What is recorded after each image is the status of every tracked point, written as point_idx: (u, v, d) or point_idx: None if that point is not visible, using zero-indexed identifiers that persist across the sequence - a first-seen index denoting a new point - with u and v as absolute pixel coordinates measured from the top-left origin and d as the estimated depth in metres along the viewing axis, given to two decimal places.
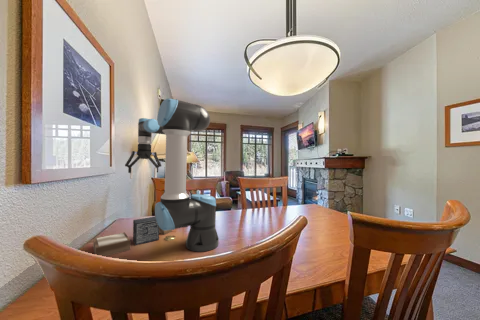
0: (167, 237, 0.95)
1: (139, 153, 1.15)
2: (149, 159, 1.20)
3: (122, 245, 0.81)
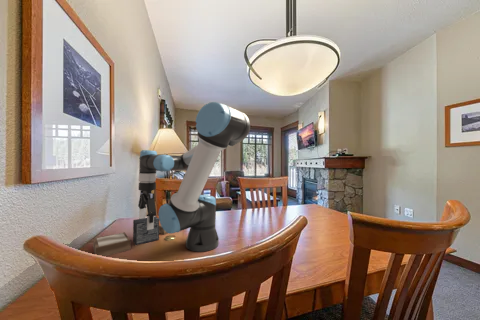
0: (167, 237, 0.95)
1: (142, 193, 0.94)
2: None
3: (122, 245, 0.81)
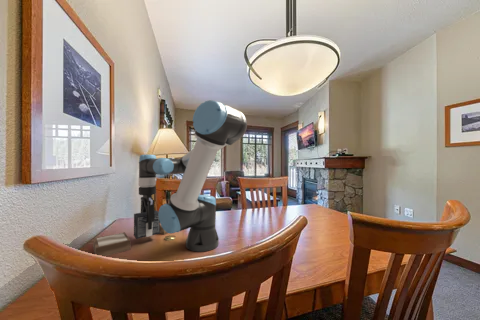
0: (167, 237, 0.95)
1: (143, 198, 0.94)
2: None
3: (122, 245, 0.81)
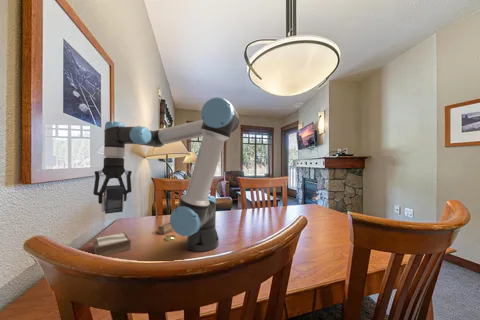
0: (168, 237, 0.94)
1: (106, 171, 0.81)
2: (118, 179, 0.85)
3: (122, 245, 0.81)
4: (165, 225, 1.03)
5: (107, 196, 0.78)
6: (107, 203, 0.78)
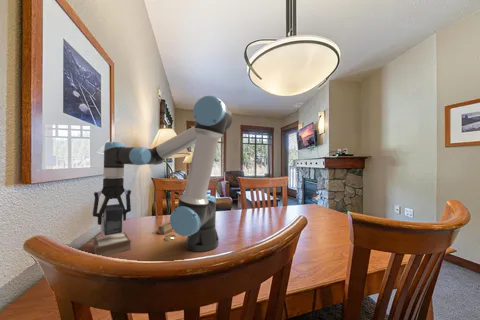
0: (169, 238, 0.94)
1: (105, 192, 0.81)
2: (117, 199, 0.85)
3: (122, 245, 0.81)
4: (165, 225, 1.03)
5: (106, 218, 0.78)
6: (106, 225, 0.78)
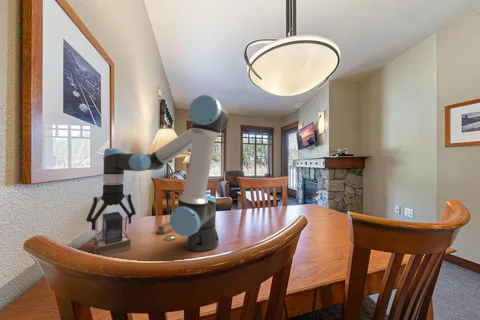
0: (172, 236, 0.95)
1: (105, 198, 0.81)
2: None
3: (122, 245, 0.81)
4: (165, 225, 1.03)
5: (106, 227, 0.78)
6: (107, 234, 0.78)
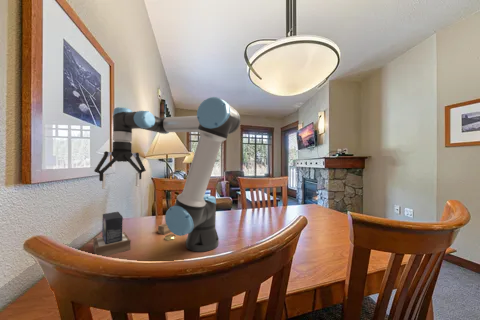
0: (172, 235, 0.96)
1: (115, 154, 0.86)
2: (129, 162, 0.91)
3: (122, 245, 0.81)
4: (165, 225, 1.03)
5: (106, 227, 0.78)
6: (107, 234, 0.78)
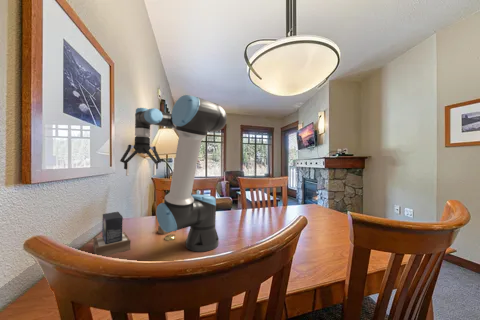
0: (169, 235, 0.96)
1: (136, 147, 1.02)
2: (147, 154, 1.07)
3: (122, 245, 0.81)
4: None
5: (106, 227, 0.78)
6: (107, 234, 0.78)
